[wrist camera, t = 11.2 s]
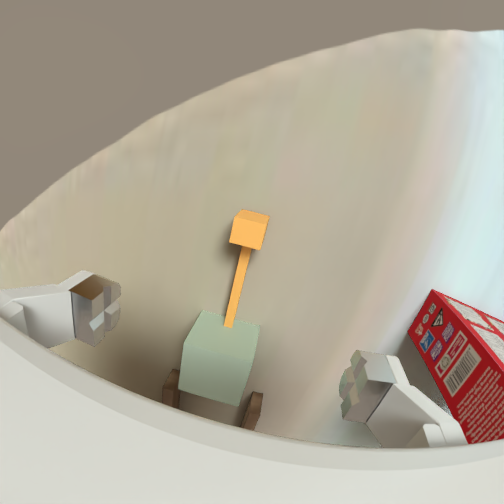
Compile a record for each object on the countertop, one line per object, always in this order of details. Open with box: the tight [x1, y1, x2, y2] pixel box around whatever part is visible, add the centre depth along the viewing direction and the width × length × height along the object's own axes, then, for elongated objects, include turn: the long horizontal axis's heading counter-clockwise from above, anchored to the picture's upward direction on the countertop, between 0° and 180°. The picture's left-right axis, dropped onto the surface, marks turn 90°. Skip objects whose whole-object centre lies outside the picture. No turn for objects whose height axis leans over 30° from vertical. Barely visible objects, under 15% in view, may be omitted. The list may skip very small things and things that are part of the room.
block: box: [178, 209, 270, 407], centre depth 26 cm, size 6×17×6 cm, turn 167°
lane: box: [162, 369, 263, 431], centre depth 33 cm, size 11×16×4 cm
